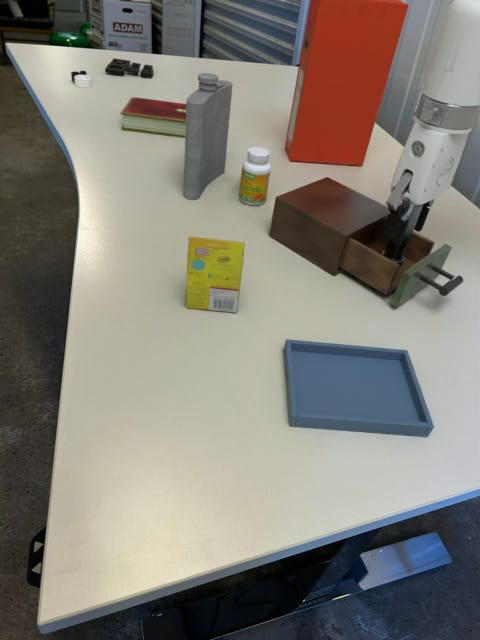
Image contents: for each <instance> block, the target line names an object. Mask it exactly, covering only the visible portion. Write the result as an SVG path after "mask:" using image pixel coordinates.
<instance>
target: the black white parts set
mask: <svg viewBox="0 0 480 640" xmlns="http://www.w3.org/2000/svg"><path fill="white" fill-rule="evenodd" d="M140 69H141V70H140ZM104 71H105V73H107V74H108V73H109V74H115V75H120V76H123V75H124V74H125V72H126V73H132V74H139V72H140V74H139V75H140V78H145V79H153V77H154V65H151V64H144V65H143V67H142V68H141V63H138V62H131V60H127V59H121V58H116V57H113V58H112V60H111V61H110V62H109V63H108V64H107V66H105V68H104ZM70 75H71V76H70V78H71V81H72V82H74V86H75V87H78V88H81V89H88V88H91V87H92V80H91V79H92V78H91V76H89V75H88V73H87V71H86V70H80V71H76V70H75V71H71V72H70Z"/></svg>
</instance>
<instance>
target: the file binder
mask: <svg viewBox="0 0 480 640" xmlns="http://www.w3.org/2000/svg"><path fill="white" fill-rule="evenodd" d="M408 9H409V4H408V3H406V2H403V1H401V0H309V5H308V10H307V11H308V12H307V16H306V22H305V27H304V28H305V29H304V34H303V39H302V45H301V51H300V58H299V62H298V63H299V64H298V69H297V75H296V81H295V86H294V91H293V92H294V93H293V97H292V102H291V103H292V104H291V109H290V113H289V114H290V115H289V120H288V127H287V133H286V139H285V144H284V150H285V152H286V155H287V157H288V160H289V161H291V162H305V163H317V164H318V163H319V164H329V165H330V164H333V165H347V166H357V167H358V166H360V167H362V166H364V162H365V159H366V155H367V152H368V148H369V145H370V142H371V138H372V134H373V131H374V128H375V124H376V120H377V117H378V114H379V110H380V107H381V102H382V100H383V96H384V93H385V90H386V85H387V83H388V79H389V75H390V72H391V68H392V65H393V62H394V57H395V55H396V51H397V48H398V44H399V41H400V37H401V33H402V30H403V26H404V23H405V19H406V16H407V13H408Z"/></svg>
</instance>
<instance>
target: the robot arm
mask: <svg viewBox="0 0 480 640" xmlns="http://www.w3.org/2000/svg"><path fill="white" fill-rule="evenodd" d="M479 113H480V0H453V1H452V2H451V3H450V5H449V7H448V10H447V12H446V15H445V17H444V20H443V24H442V27H441V29H440V33H439V37H438V39H437V42H436V46H435V48H434V51H433V54H432V58H431V61H430V64H429V67H428V70H427V73H426V76H425V79H424V81H423V86H422V89H421V92H420V94H419V97H418V101H417V104H416V106H415V109H414V113H413V116H412V121H414V124H413V126H412V128H411V130H410V133H409V135H408V136H407V139H406V142H405V144H404V147H403V149H402V152H401V154H400V157H399V159H398V162H397V165H396V168H395V171H394V173H393V176H392V181H391V185H390V195H389V196H388V197H387V199H386V202H385V204H386V206H387V207H388V209H389V210H388V217H387V220H386V223H385V226H384V229H383V232H382V236H383V237H384V238H386V239H388V240H390V241H392V242H394V243H396V244H400V243H401V242H402V240H403V237H404V235H405V232H406V229H407V227H408V224H409V220H407V219H408V217H409V215H410V213H411V211H412V209H413V207H414V205H417V206H419V205H422V204H423V207H422V209H421V212H420V215H419V217H418V220H417V223H416V225H415V228H414V230H413V231H414V232H416V233H419V232H421V231H422V230H423V229H424V226H425V223H426V221H427V218H428V215H429V213H430V210H431V207H432V206H433V204H434V202H435V199H436V198H437V197H439V196H441V195H442V194H444V193H446V192H447V191H448V190H449V189H450V187H451V186H452V183H453V180H454V177H455V175H456V172H457V169H458V167H459V165H460V161H461V158H462V155H463V153H464V150H465V147H466V144H467V141H468V136H469V133H470V132H472V130H473V127H474V125H475V123H476V120H477V117H478V115H479ZM406 193H408V194H409V196H407V195H406ZM409 197H410V198H409ZM402 200H403V201H405V202H407V203H408V205H407V207H406V209H405V210H404V207H403V206H402V205H401V203H402Z"/></svg>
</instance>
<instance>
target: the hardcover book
mask: <svg viewBox="0 0 480 640" xmlns="http://www.w3.org/2000/svg"><path fill="white" fill-rule="evenodd" d="M120 115H122V126H121V127H120V130H121V131H126V132H127V131H128V132H135V133H143V134H152V135H159V136H167V137H173V138H175V137H176V138H182V139H183V138H184V139H185V131H186V103H182V102H175V101H174V102H173V101H166V100H159V99H152V98H146V97H145V98H143V97H136V96H131V97H130V98H129V99H128V101H127V103H126V104H125V105H124V107H123V108H122V110H121V111H120Z"/></svg>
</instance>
